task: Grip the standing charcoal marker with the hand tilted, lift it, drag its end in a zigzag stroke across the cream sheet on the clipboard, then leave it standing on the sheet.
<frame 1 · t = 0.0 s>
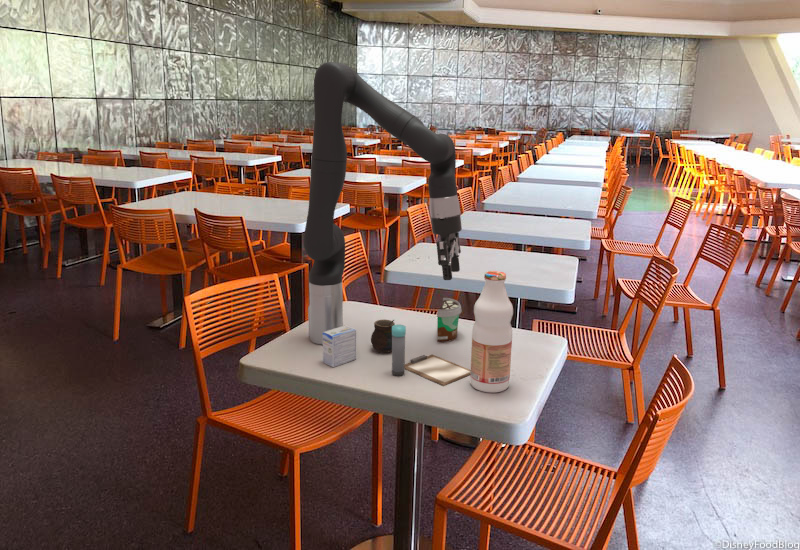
hand: (451, 275, 166), 22 cm above the table, tool pointing down, fingers open, 8 cm apart
food container: (450, 337, 185), on the table
clipboard: (437, 370, 162), on the table
medicine box: (339, 362, 167), on the table
mate gourd: (384, 350, 175), on the table
fruit juice: (489, 385, 154), on the table
marker: (398, 373, 160), on the table
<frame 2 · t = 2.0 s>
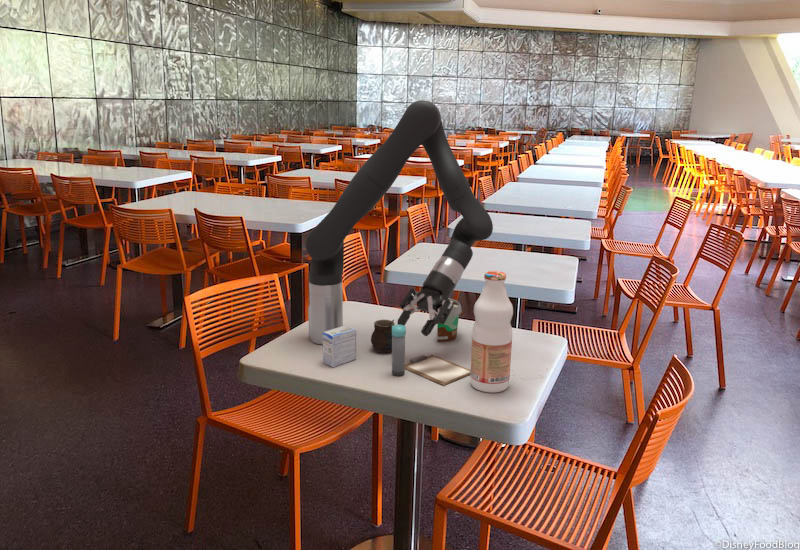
hand: (411, 330, 160), 11 cm above the table, tool tilted 45°, fingers open, 8 cm apart
nothing on the table moved.
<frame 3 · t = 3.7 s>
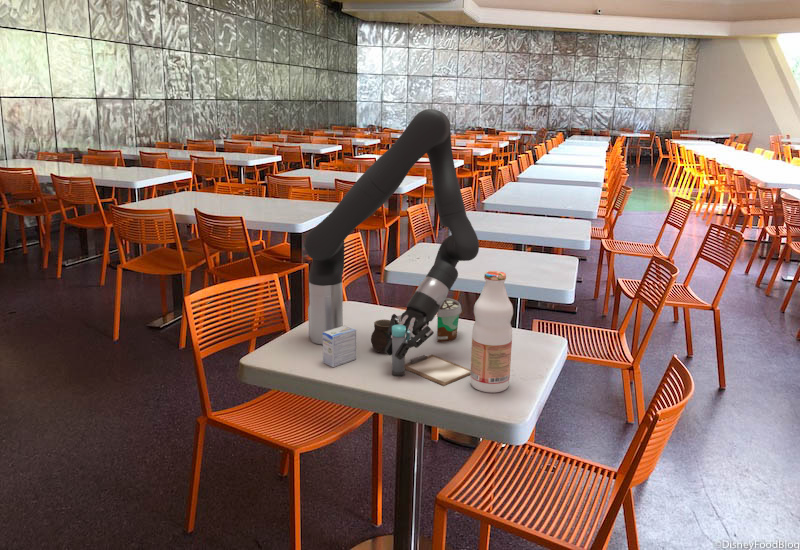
hand: (392, 355, 157), 5 cm above the table, tool tilted 45°, fingers closed on marker, 3 cm apart
marker: (398, 373, 160), on the table, touching gripper
everything else where it was.
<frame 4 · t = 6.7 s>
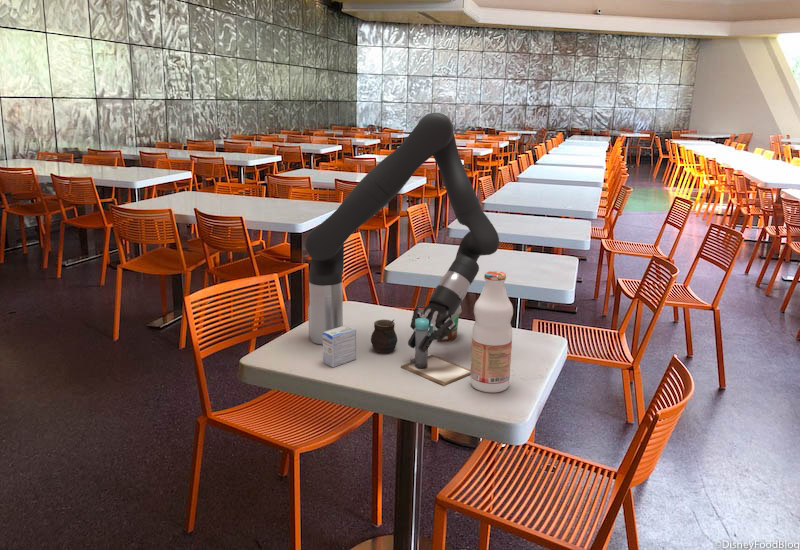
hand: (416, 348, 160), 6 cm above the table, tool tilted 45°, fingers closed on marker, 3 cm apart
marker: (421, 366, 163), point 1 cm above the table, touching gripper
everything else where it was.
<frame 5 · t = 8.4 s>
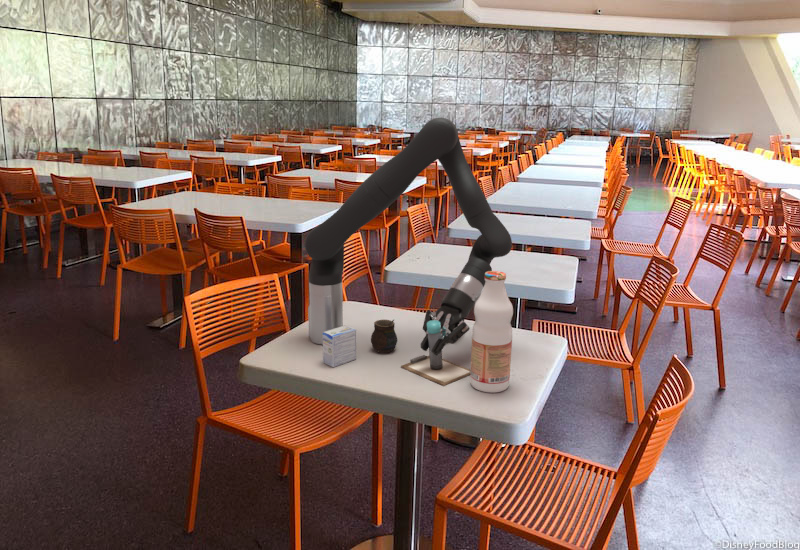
hand: (428, 351, 159), 6 cm above the table, tool tilted 45°, fingers closed on marker, 3 cm apart
marker: (436, 366, 162), point 1 cm above the table, tilted 9°, touching gripper
everything else where it was.
when the fingers open (6 cm above the table, at t = 9.7 s): marker stays where it is, resting on clipboard.
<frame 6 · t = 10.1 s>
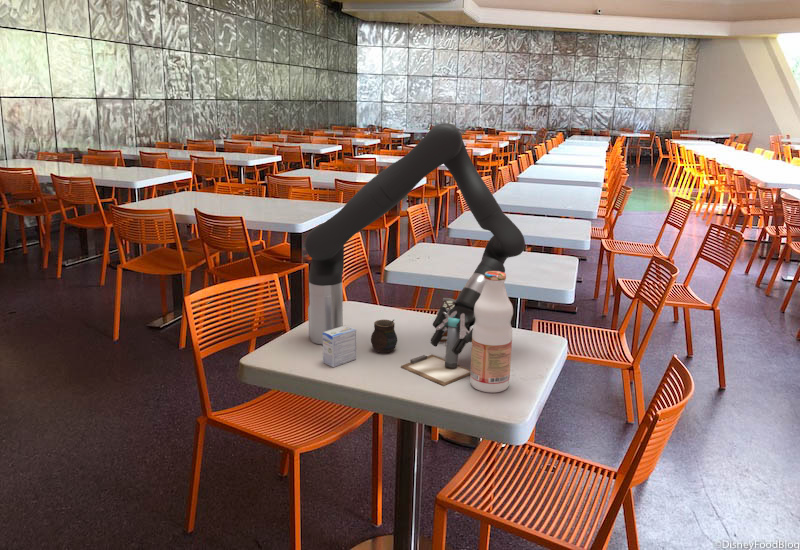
hand: (443, 348, 159), 6 cm above the table, tool tilted 45°, fingers open, 6 cm apart
marker: (450, 366, 163), point 1 cm above the table, tilted 10°, touching clipboard
everything else where it was.
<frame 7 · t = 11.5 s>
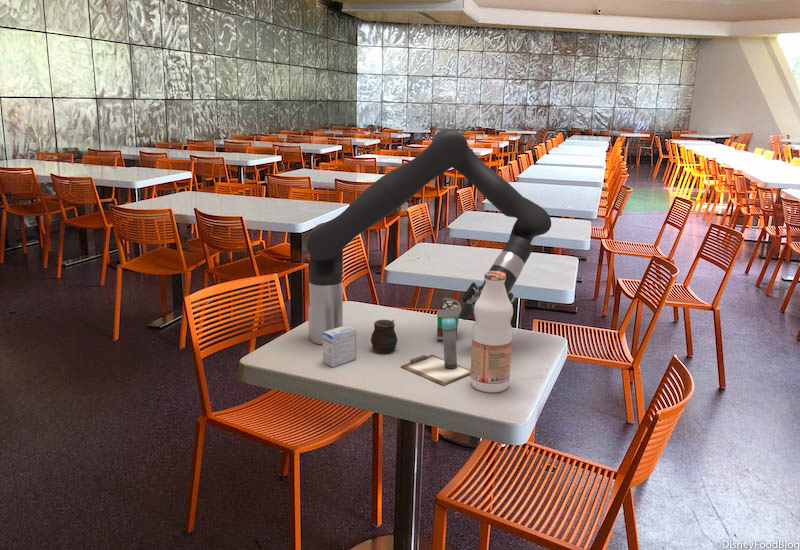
hand: (474, 322, 166), 11 cm above the table, tool tilted 45°, fingers open, 8 cm apart
marker: (450, 366, 163), point 1 cm above the table, touching clipboard
everything else where it was.
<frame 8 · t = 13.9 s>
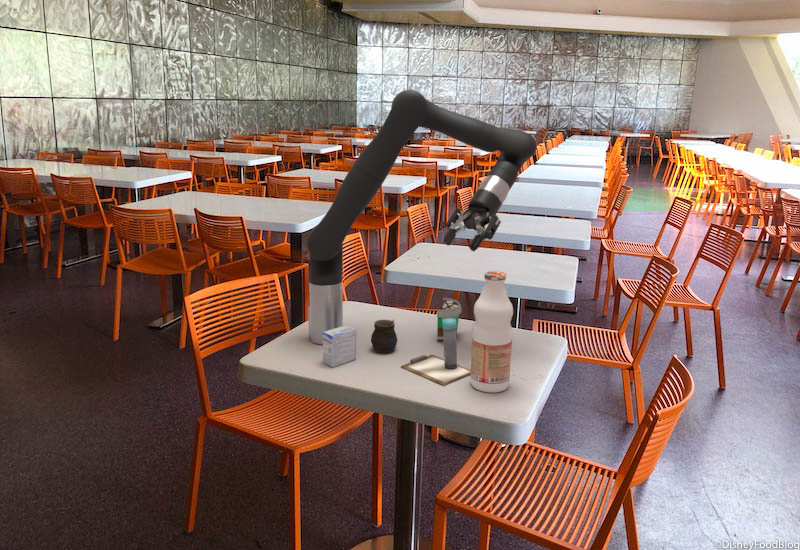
hand: (458, 246, 161), 31 cm above the table, tool tilted 45°, fingers open, 8 cm apart
nothing on the table moved.
at the end: marker inside the target area on the clipboard (3.5 cm from its centre), point 0.7 cm above the clipboard's base; marker moved 13.8 cm from its start; the gripper is holding nothing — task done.
